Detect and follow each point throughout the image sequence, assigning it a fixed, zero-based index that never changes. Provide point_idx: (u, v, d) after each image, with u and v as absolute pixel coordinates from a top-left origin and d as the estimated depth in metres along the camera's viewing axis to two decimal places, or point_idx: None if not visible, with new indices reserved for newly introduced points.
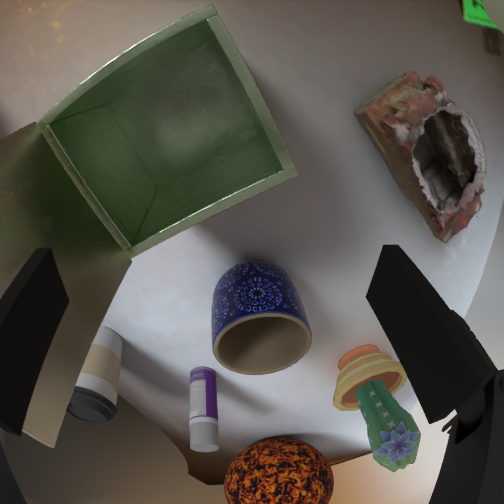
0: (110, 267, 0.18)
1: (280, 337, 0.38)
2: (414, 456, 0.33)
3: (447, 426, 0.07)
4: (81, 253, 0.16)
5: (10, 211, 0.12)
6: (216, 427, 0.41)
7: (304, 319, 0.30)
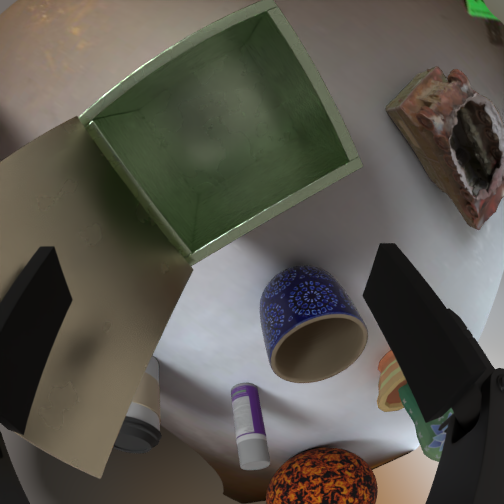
0: (168, 278, 0.17)
1: (330, 342, 0.36)
2: None
3: (444, 425, 0.07)
4: (135, 265, 0.16)
5: (49, 221, 0.11)
6: (265, 443, 0.38)
7: (360, 318, 0.28)
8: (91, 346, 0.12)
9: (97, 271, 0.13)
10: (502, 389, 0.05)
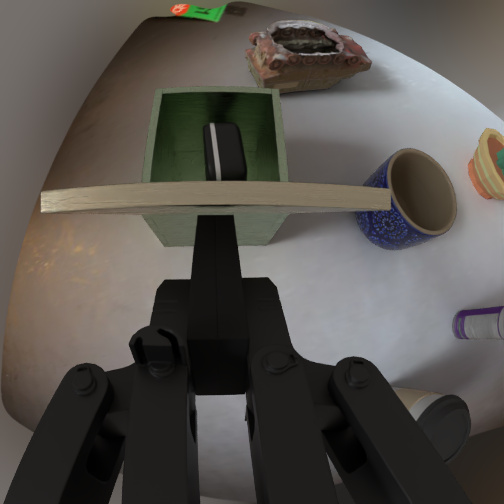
0: None
1: (430, 199, 0.34)
2: None
3: (246, 415, 0.08)
4: None
5: None
6: None
7: None
8: None
9: None
10: (275, 371, 0.06)
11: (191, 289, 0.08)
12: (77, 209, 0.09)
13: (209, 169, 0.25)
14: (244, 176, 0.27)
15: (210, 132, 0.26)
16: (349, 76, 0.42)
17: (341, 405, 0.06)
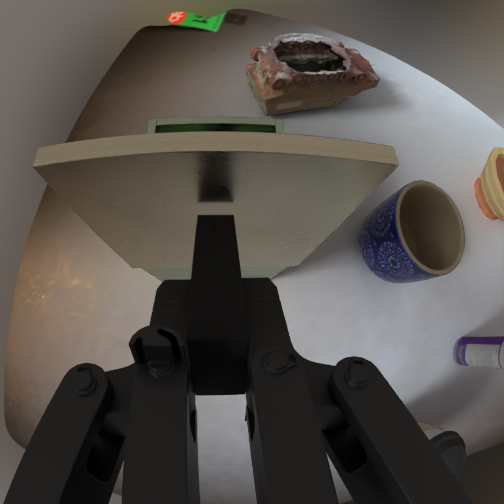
0: None
1: (437, 230, 0.33)
2: None
3: (246, 415, 0.08)
4: None
5: None
6: None
7: None
8: None
9: None
10: (274, 372, 0.06)
11: (191, 289, 0.08)
12: (70, 159, 0.08)
13: None
14: None
15: None
16: (355, 93, 0.41)
17: (341, 405, 0.06)
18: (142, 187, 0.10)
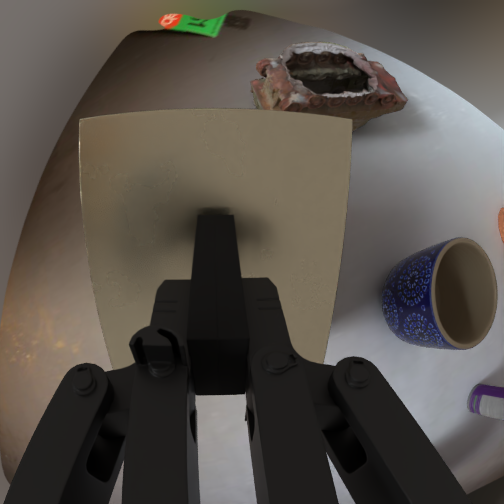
0: None
1: (466, 285, 0.28)
2: None
3: (246, 415, 0.08)
4: None
5: None
6: None
7: (451, 239, 0.24)
8: None
9: None
10: (275, 372, 0.06)
11: (191, 289, 0.08)
12: (111, 114, 0.11)
13: None
14: None
15: None
16: (378, 115, 0.35)
17: (341, 405, 0.06)
18: (154, 157, 0.12)
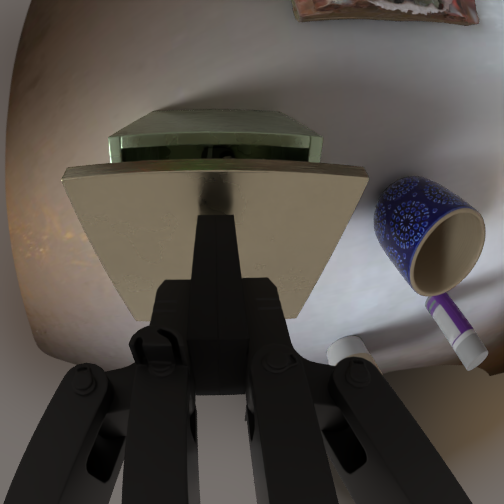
0: None
1: (458, 226, 0.29)
2: None
3: (246, 415, 0.08)
4: None
5: None
6: (475, 335, 0.35)
7: (457, 204, 0.23)
8: None
9: None
10: (274, 372, 0.06)
11: (191, 289, 0.08)
12: (95, 175, 0.10)
13: None
14: None
15: None
16: None
17: (341, 405, 0.06)
18: (152, 211, 0.12)
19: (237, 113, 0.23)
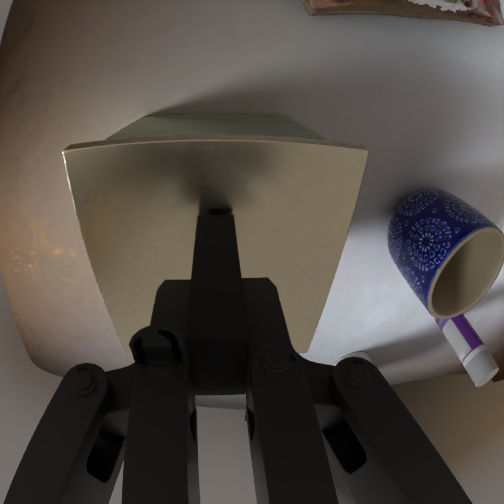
0: None
1: (475, 242, 0.26)
2: None
3: (246, 415, 0.08)
4: None
5: None
6: (486, 352, 0.32)
7: (481, 223, 0.20)
8: None
9: None
10: (274, 371, 0.06)
11: (191, 289, 0.08)
12: (97, 145, 0.10)
13: None
14: None
15: None
16: None
17: (341, 405, 0.06)
18: (150, 191, 0.11)
19: (240, 118, 0.21)
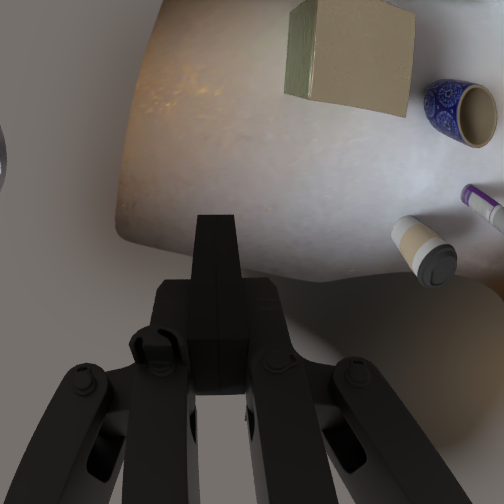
0: None
1: (478, 113, 0.36)
2: None
3: (246, 415, 0.08)
4: None
5: None
6: None
7: None
8: None
9: None
10: (274, 372, 0.06)
11: (191, 289, 0.08)
12: None
13: None
14: None
15: None
16: None
17: (341, 405, 0.06)
18: (350, 6, 0.22)
19: None
